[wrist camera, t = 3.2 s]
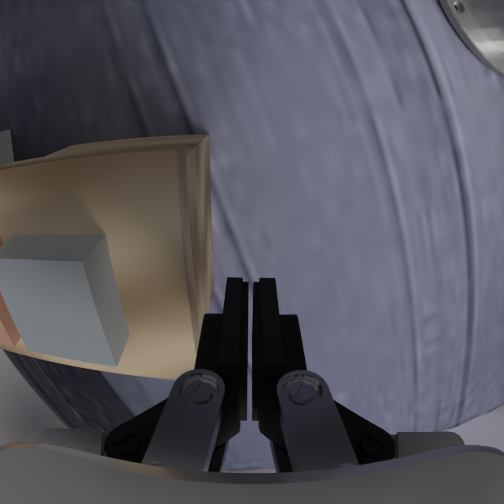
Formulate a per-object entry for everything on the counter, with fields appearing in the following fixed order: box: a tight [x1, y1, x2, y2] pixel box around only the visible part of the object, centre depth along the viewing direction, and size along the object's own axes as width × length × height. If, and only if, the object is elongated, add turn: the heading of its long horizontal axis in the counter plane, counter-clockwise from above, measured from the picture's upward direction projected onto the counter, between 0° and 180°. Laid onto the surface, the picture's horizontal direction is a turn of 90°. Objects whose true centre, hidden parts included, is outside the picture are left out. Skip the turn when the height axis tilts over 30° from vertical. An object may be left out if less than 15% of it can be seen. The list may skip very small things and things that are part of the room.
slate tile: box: [0, 235, 130, 367], centre depth 11 cm, size 5×5×2 cm
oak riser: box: [0, 134, 214, 380], centre depth 16 cm, size 11×16×8 cm, turn 89°
